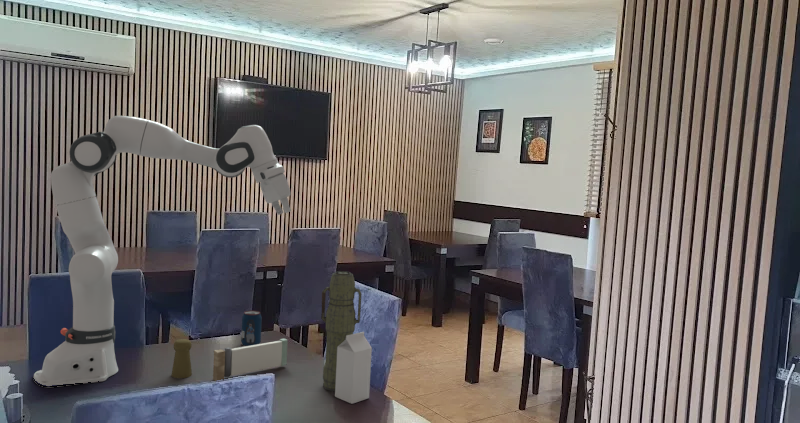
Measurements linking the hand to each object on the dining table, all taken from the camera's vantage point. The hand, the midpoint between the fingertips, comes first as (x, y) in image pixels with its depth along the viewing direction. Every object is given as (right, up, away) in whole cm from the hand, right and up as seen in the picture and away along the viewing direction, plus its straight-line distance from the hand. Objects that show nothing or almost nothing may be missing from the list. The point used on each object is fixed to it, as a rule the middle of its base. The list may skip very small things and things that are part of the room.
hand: (284, 213), depth 201 cm
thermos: (+18, -53, -11) cm, 57 cm away
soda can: (-17, -48, +26) cm, 57 cm away
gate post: (-18, -51, -12) cm, 55 cm away
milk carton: (+23, -54, -20) cm, 62 cm away
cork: (-30, -50, -9) cm, 59 cm away
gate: (-8, -50, -3) cm, 51 cm away
